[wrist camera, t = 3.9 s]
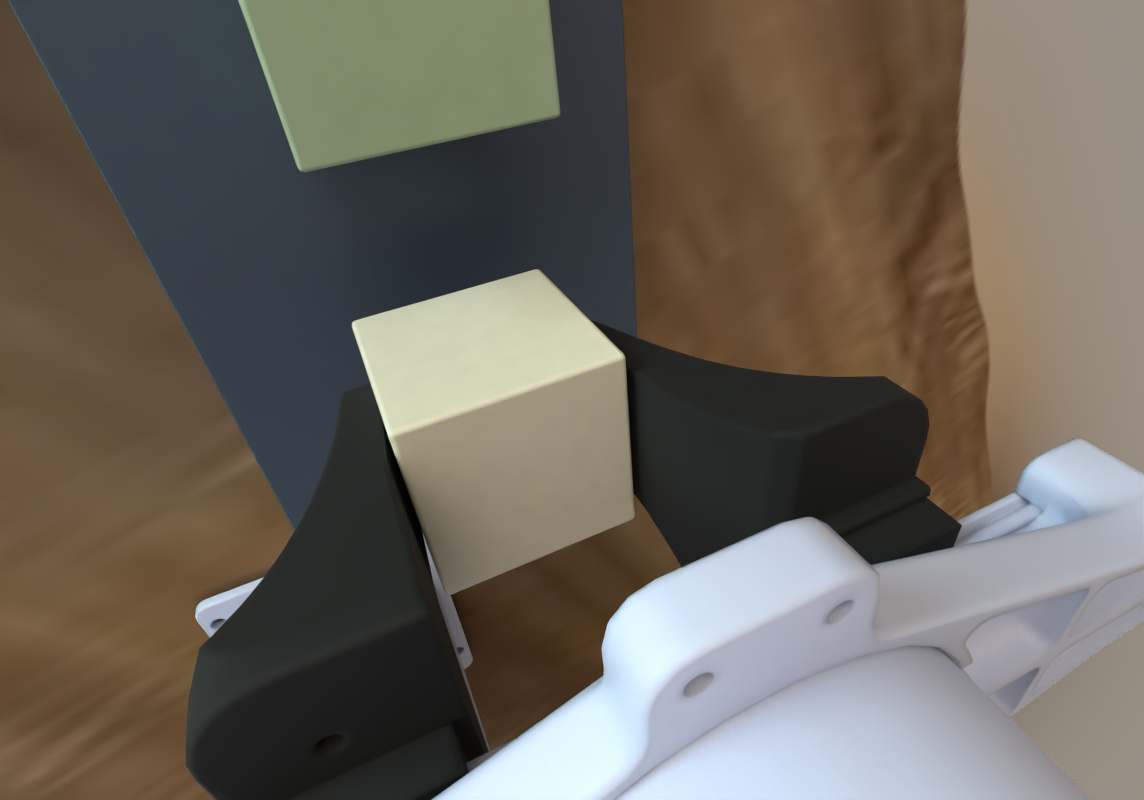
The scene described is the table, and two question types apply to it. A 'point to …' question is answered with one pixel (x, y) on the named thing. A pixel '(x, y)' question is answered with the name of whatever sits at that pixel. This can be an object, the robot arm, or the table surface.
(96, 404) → the table surface
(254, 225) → the storage box
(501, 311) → the cream box
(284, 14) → the sage box
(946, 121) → the table surface
